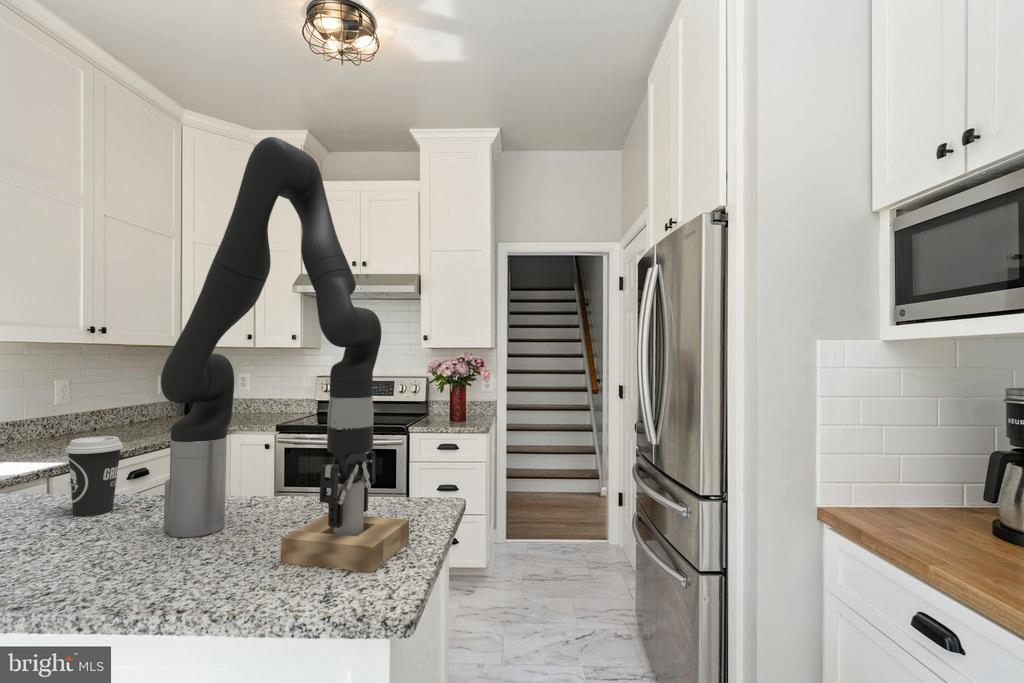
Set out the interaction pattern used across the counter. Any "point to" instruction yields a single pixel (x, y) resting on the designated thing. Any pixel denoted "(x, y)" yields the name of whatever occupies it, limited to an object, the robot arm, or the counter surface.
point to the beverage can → (353, 511)
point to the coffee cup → (93, 474)
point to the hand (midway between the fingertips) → (348, 518)
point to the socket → (345, 544)
